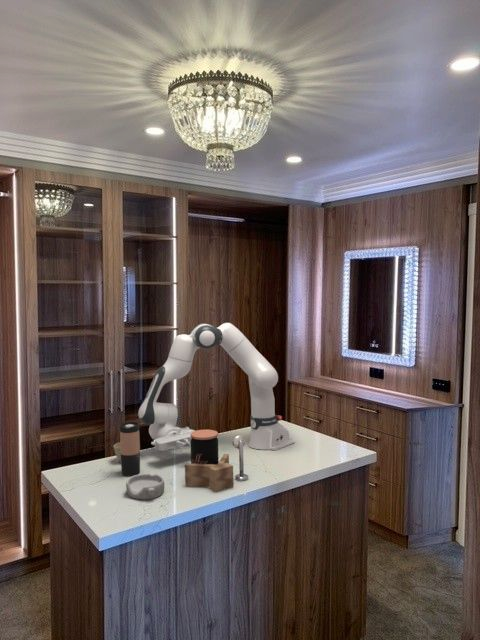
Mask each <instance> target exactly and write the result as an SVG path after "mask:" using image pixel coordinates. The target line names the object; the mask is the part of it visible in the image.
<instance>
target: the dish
mask: <svg viewBox="0 0 480 640" xmlns="http://www.w3.org/2000/svg"><path fill="white" fill-rule="evenodd" d="M125 488H126V493H127V494H128V496H129V497H130V498H133V499H135V500H136V499H137V500H152V499H154V498H157V497H159V496H161V495H162V494H164V491H165V479H164V477H162V475H160V474H157V473H156V474H151V473H141V474H140V473H139V474H138V475H134V476H131V477H129V478H127V480H126V482H125Z"/></svg>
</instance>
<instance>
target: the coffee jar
mask: <svg viewBox="0 0 480 640" xmlns="http://www.w3.org/2000/svg"><path fill="white" fill-rule="evenodd" d="M190 435H191V438H192V439H191V444H190V463H191V464H214V465H218V463H219V461H220V459H219V458H220V457H219V438H218V436H219V432H218V431H217V430H214V429H197V430H195V431H194V432H192V433H191V434H190Z"/></svg>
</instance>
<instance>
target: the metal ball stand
mask: <svg viewBox="0 0 480 640" xmlns="http://www.w3.org/2000/svg"><path fill="white" fill-rule="evenodd" d="M231 444H232V447H233V448H235V449H237V450H238V451H239V452H238V453H239V454H238V456H239V457H238V458H239V460H238V461H239V464H238V465H239V473H237V474H236V475H235V476H234V480H236V481H238V482H246V481H248V480H249V475H248V474H246V473H245V471H244V469H245V468H244V467H245V466H244V462H245V461H244V446H245V444H246V439H245V437H244V436H242V435H239V434H237V435H235V436H234V437H232V441H231Z"/></svg>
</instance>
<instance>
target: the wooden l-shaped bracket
mask: <svg viewBox="0 0 480 640" xmlns="http://www.w3.org/2000/svg"><path fill="white" fill-rule="evenodd" d="M184 480H185V481H184V482H185V483H184V484H185V487H196V488H202V487H203V488H209V490H210V491H212V492H214V493H217V492H221V491H224V490H227V489H230V488H234V465H232V464H231V463H230V457H229V453H223V455H222V456H221V458H220V459H219V463H218V465H214V464H191V462H190V463H188V462H186V463H185V464H184Z"/></svg>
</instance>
